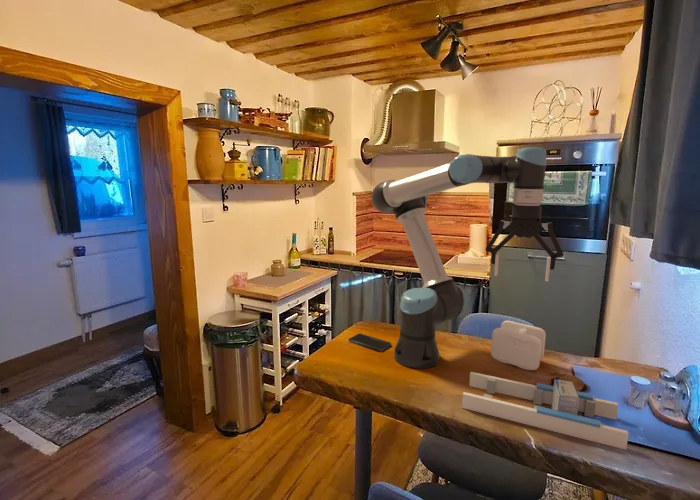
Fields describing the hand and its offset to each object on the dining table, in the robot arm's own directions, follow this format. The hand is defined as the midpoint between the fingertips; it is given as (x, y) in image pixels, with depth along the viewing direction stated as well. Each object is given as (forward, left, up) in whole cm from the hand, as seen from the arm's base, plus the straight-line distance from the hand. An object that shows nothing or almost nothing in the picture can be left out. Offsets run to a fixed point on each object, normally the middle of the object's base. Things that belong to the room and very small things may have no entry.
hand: (520, 277), depth 110 cm
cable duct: (+7, -16, -32) cm, 36 cm away
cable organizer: (+1, +13, -32) cm, 35 cm away
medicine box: (+13, -16, -32) cm, 38 cm away
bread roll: (+15, +3, -32) cm, 36 cm away
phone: (-49, +4, -32) cm, 59 cm away
